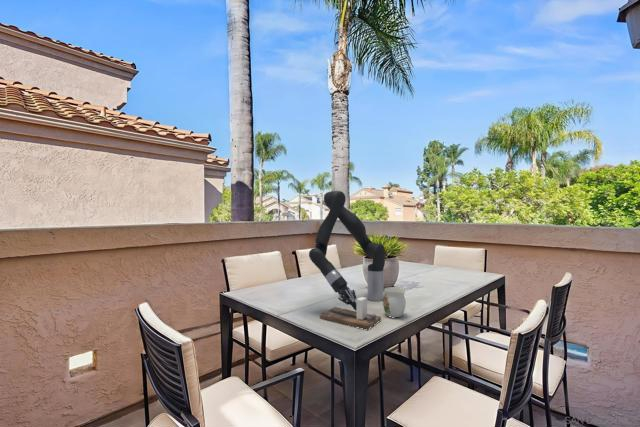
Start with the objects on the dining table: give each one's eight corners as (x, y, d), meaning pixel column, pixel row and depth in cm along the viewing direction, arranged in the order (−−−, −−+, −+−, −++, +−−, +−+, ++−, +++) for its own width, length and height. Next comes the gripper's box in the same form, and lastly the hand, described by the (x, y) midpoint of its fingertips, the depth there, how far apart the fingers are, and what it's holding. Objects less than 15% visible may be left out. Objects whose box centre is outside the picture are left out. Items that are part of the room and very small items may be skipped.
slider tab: (361, 315, 150) (361, 296, 150) (366, 316, 149) (366, 297, 148) (356, 318, 146) (356, 299, 146) (362, 319, 145) (362, 300, 144)
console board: (334, 310, 164) (334, 303, 164) (380, 320, 150) (380, 312, 149) (319, 318, 153) (319, 310, 153) (367, 330, 138) (367, 321, 138)
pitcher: (394, 308, 168) (394, 283, 167) (412, 320, 150) (412, 292, 150) (375, 310, 165) (375, 284, 164) (392, 322, 147) (392, 293, 147)
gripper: (333, 278, 148) (356, 308, 142) (347, 273, 159) (369, 301, 152) (324, 288, 152) (346, 318, 145) (338, 282, 162) (359, 310, 156)
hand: (357, 309), depth 149 cm, fingers closed
